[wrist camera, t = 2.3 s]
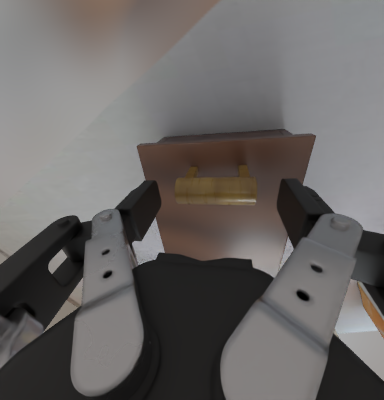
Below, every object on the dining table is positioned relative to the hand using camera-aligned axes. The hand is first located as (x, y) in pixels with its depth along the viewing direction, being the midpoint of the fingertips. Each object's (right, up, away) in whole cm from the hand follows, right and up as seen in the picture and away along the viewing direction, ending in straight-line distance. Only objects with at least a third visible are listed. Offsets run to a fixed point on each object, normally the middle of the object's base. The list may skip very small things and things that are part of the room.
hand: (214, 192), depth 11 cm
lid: (+1, -3, +7) cm, 8 cm away
